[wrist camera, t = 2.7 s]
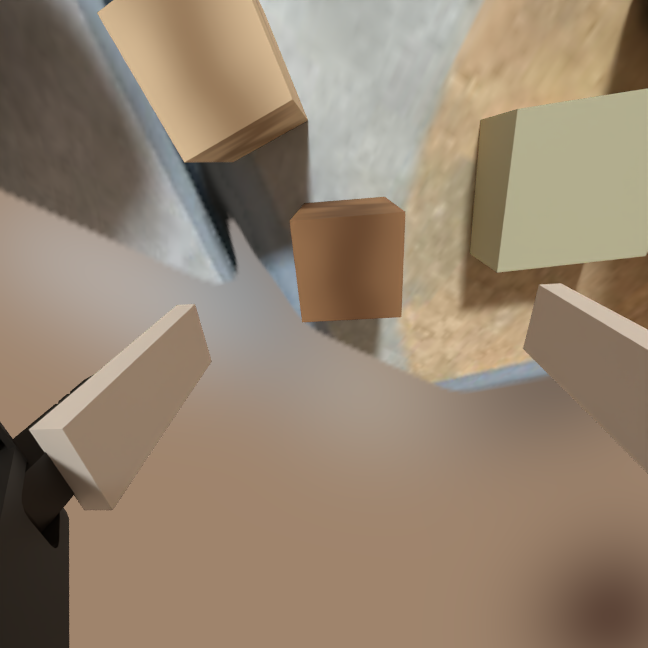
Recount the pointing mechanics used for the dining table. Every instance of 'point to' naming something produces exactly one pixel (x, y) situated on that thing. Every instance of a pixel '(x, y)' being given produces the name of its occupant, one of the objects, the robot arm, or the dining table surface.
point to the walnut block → (349, 259)
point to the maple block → (207, 73)
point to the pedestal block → (563, 183)
